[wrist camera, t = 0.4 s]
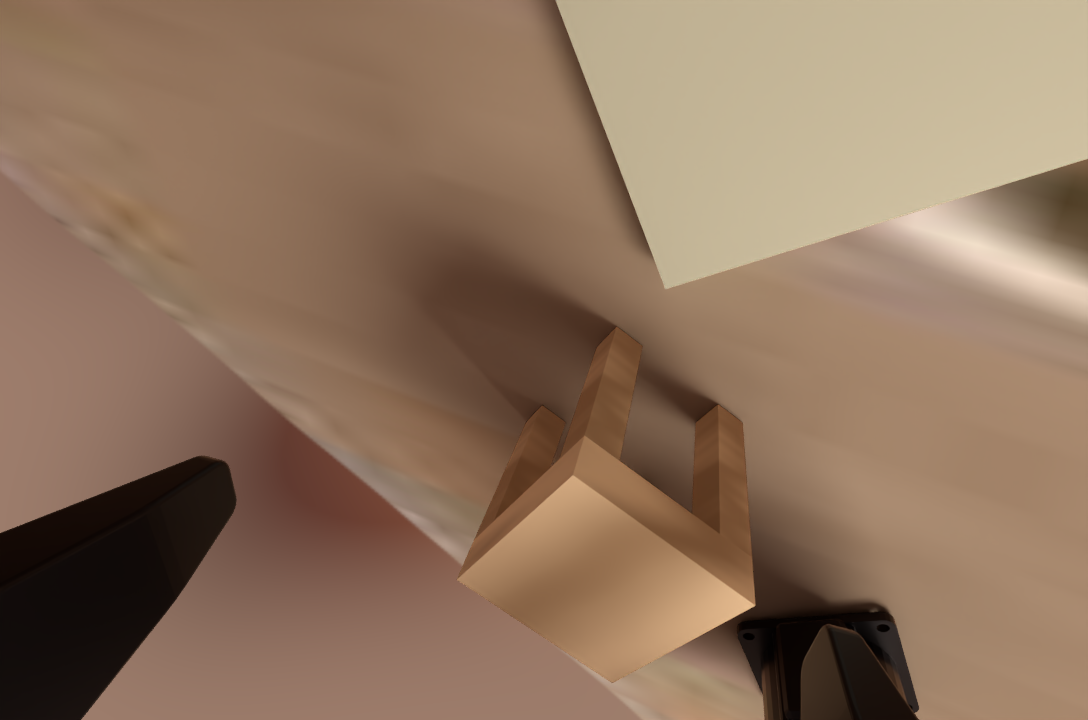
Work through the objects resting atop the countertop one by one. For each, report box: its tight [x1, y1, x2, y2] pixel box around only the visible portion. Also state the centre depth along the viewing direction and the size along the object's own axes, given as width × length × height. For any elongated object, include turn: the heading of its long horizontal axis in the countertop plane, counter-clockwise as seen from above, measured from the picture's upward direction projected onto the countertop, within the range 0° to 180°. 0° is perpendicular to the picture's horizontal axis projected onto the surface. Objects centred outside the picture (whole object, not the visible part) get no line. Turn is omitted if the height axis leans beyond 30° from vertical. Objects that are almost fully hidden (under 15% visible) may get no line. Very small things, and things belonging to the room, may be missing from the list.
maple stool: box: [457, 327, 755, 683], centre depth 20 cm, size 6×6×8 cm
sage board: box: [556, 0, 1088, 289], centre depth 15 cm, size 11×11×2 cm
